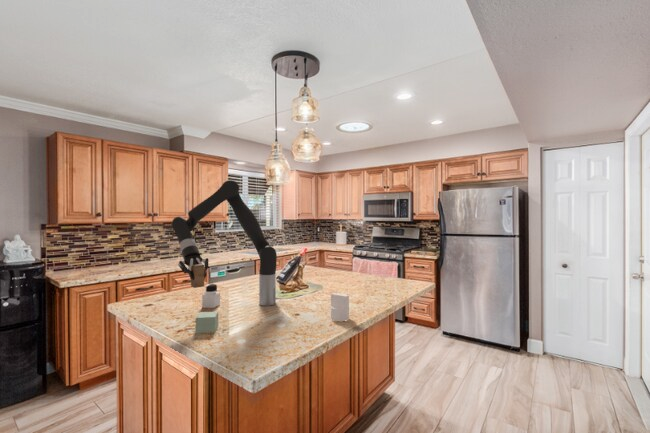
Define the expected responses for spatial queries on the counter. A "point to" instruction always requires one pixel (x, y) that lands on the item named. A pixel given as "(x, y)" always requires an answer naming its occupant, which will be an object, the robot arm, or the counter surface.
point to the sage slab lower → (206, 328)
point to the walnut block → (198, 276)
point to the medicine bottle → (210, 297)
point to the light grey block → (339, 307)
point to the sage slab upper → (206, 318)
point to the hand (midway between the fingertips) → (199, 278)
